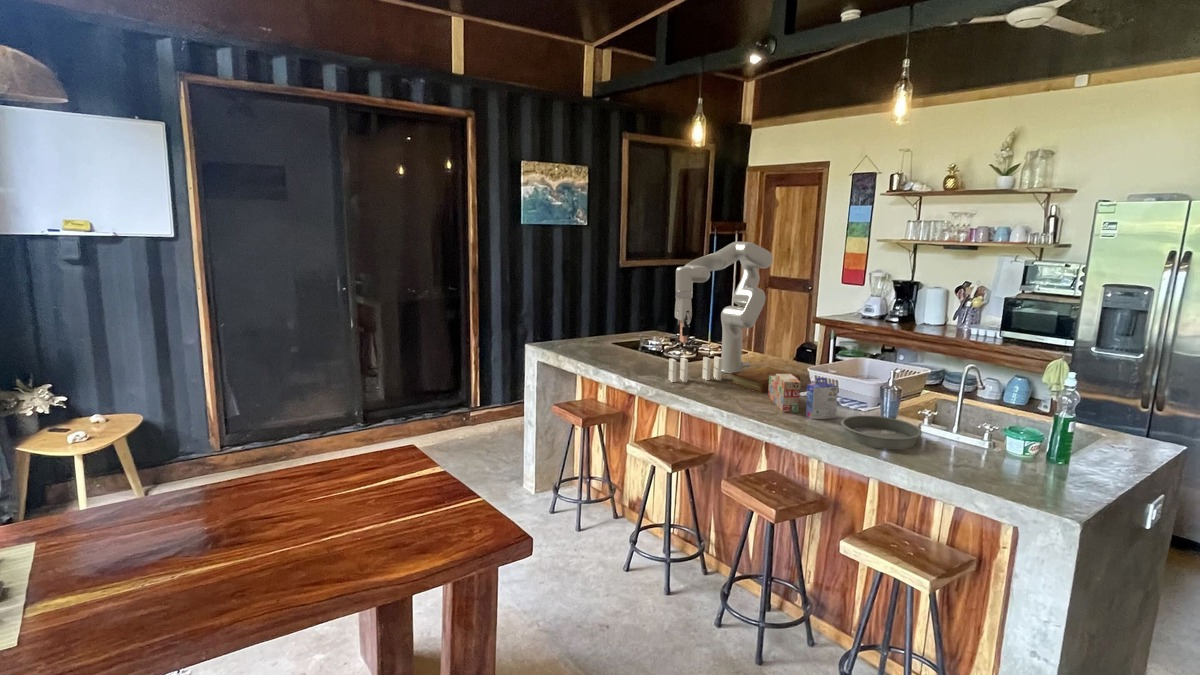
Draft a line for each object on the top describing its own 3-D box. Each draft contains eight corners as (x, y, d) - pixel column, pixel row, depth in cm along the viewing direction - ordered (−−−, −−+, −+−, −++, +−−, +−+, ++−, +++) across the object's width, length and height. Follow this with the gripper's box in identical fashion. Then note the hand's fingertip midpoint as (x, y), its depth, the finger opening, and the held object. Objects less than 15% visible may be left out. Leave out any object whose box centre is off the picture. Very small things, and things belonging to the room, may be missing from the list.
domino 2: (705, 378, 290) (706, 356, 288) (710, 380, 285) (710, 359, 283) (702, 378, 289) (703, 357, 287) (706, 380, 284) (707, 359, 283)
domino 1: (683, 379, 287) (683, 357, 285) (687, 381, 282) (688, 360, 280) (679, 379, 287) (680, 358, 285) (683, 382, 282) (684, 360, 280)
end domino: (716, 377, 291) (717, 356, 289) (721, 380, 286) (722, 358, 284) (713, 377, 291) (714, 356, 289) (717, 380, 286) (718, 358, 284)
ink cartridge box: (828, 414, 236) (831, 376, 233) (836, 418, 231) (839, 380, 228) (804, 415, 234) (807, 377, 232) (811, 419, 229) (814, 381, 226)
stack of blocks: (767, 397, 259) (769, 368, 257) (782, 397, 259) (784, 368, 257) (782, 412, 238) (784, 381, 235) (798, 412, 238) (801, 381, 235)
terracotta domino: (683, 340, 287) (683, 318, 285) (686, 342, 282) (687, 320, 280) (679, 340, 286) (679, 319, 284) (683, 342, 281) (683, 320, 280)
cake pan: (934, 441, 208) (935, 428, 207) (898, 457, 193) (899, 443, 192) (863, 422, 227) (864, 410, 226) (825, 436, 212) (827, 423, 211)
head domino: (671, 379, 286) (672, 358, 284) (675, 382, 281) (676, 360, 279) (668, 380, 285) (669, 358, 283) (672, 382, 280) (673, 360, 279)
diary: (761, 394, 264) (761, 381, 263) (730, 385, 280) (731, 372, 279) (799, 387, 276) (800, 374, 275) (768, 378, 292) (768, 366, 291)
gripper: (669, 292, 287) (669, 331, 291) (682, 297, 271) (682, 338, 274) (685, 292, 289) (684, 331, 292) (699, 296, 273) (698, 337, 276)
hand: (683, 334), depth 283 cm, fingers closed on terracotta domino, 4 cm apart
